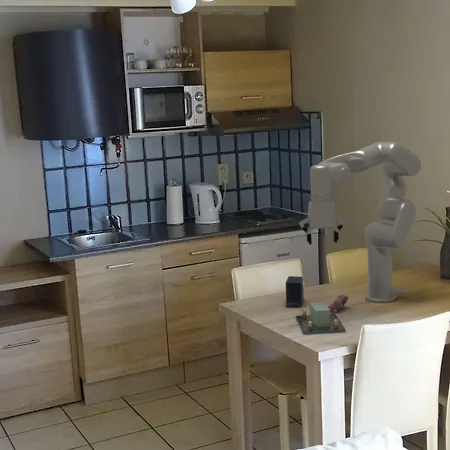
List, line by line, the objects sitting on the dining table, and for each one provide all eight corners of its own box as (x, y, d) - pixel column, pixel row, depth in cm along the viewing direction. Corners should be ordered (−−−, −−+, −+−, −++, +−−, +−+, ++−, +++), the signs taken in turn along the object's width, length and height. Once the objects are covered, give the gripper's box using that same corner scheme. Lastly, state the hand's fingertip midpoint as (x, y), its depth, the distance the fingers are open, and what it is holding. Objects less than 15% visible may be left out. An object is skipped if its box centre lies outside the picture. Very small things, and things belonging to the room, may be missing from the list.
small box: (302, 307, 286) (301, 282, 284) (285, 307, 287) (284, 282, 285) (304, 300, 296) (303, 275, 294) (288, 300, 297) (287, 275, 296)
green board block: (323, 317, 267) (322, 302, 266) (330, 326, 257) (329, 310, 256) (310, 318, 267) (309, 303, 266) (316, 327, 256) (316, 311, 255)
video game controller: (335, 317, 276) (342, 302, 273) (325, 310, 278) (332, 296, 275) (344, 310, 284) (352, 295, 282) (335, 304, 286) (342, 289, 284)
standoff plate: (335, 315, 272) (334, 305, 271) (345, 332, 252) (345, 321, 252) (295, 318, 272) (295, 308, 271) (303, 334, 252) (303, 323, 251)
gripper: (342, 195, 270) (343, 239, 273) (296, 198, 270) (298, 242, 273) (346, 197, 263) (347, 243, 266) (299, 200, 262) (301, 246, 265)
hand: (322, 243), depth 269 cm, fingers open, 9 cm apart
